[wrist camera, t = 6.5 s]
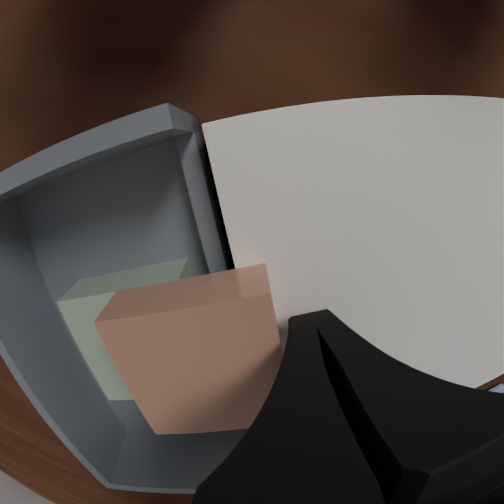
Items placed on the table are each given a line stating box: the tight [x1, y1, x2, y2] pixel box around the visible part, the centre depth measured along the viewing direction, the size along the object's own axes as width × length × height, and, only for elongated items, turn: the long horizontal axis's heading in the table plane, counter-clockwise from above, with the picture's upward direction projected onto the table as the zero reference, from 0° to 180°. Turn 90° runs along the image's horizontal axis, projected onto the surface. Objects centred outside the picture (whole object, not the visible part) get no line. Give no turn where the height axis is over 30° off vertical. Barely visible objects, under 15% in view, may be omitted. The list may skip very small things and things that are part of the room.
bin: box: [0, 103, 249, 494], centre depth 11 cm, size 15×9×4 cm, turn 12°
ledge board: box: [202, 95, 504, 388], centre depth 11 cm, size 14×14×2 cm
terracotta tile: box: [94, 263, 283, 435], centre depth 10 cm, size 5×5×2 cm
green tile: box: [57, 258, 194, 400], centre depth 12 cm, size 5×5×2 cm
